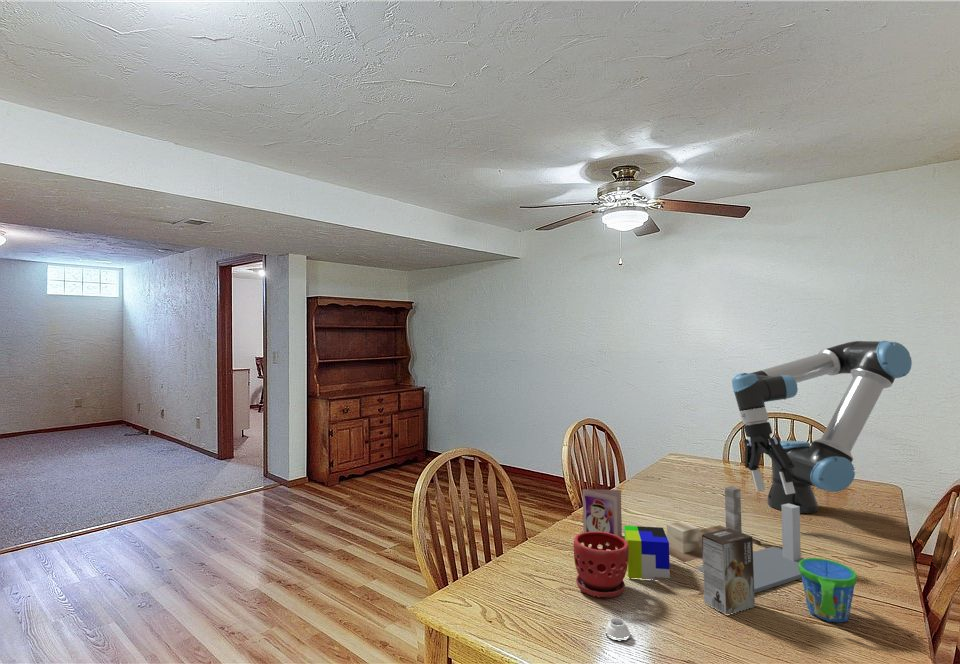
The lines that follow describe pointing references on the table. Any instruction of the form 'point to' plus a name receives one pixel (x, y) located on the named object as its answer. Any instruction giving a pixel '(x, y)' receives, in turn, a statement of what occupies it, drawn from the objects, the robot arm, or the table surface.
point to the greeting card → (602, 511)
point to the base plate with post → (779, 554)
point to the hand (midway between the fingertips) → (775, 492)
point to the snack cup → (828, 588)
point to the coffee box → (728, 570)
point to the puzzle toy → (647, 552)
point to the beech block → (683, 536)
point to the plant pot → (601, 563)
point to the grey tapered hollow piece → (617, 628)
